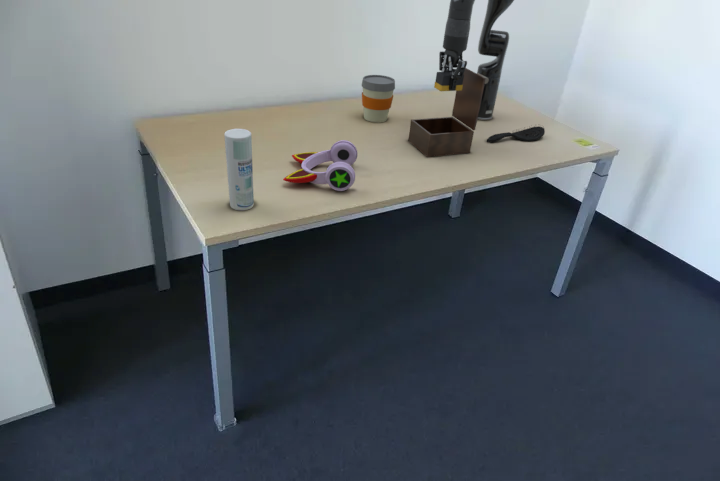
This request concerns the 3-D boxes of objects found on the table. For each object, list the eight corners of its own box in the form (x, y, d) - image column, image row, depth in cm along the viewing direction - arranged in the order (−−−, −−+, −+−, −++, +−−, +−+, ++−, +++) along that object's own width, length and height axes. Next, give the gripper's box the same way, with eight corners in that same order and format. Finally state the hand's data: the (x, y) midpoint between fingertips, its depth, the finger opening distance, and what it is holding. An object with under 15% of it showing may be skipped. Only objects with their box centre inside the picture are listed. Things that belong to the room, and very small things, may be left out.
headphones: (357, 168, 146) (285, 154, 145) (351, 199, 151) (281, 185, 150) (360, 141, 163) (295, 128, 161) (353, 170, 168) (291, 157, 166)
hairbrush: (482, 130, 193) (536, 121, 202) (480, 139, 195) (534, 130, 204) (495, 138, 187) (551, 129, 196) (494, 148, 189) (548, 138, 198)
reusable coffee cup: (374, 126, 197) (378, 86, 189) (352, 116, 205) (355, 77, 197) (398, 120, 205) (402, 81, 197) (376, 110, 212) (379, 73, 204)
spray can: (239, 213, 136) (235, 140, 126) (224, 204, 140) (218, 132, 129) (259, 205, 141) (256, 134, 130) (244, 196, 144) (240, 126, 134)
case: (427, 157, 176) (430, 135, 172) (408, 140, 187) (410, 119, 183) (469, 153, 182) (474, 131, 178) (448, 137, 193) (452, 116, 189)
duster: (440, 91, 171) (442, 75, 168) (434, 87, 174) (436, 71, 171) (461, 90, 173) (464, 75, 171) (455, 86, 177) (457, 71, 174)
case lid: (483, 78, 168) (497, 77, 170) (460, 66, 179) (473, 65, 181) (473, 130, 177) (486, 129, 179) (451, 115, 189) (464, 114, 190)
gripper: (479, 38, 160) (469, 94, 169) (455, 28, 171) (447, 81, 180) (458, 38, 158) (448, 95, 167) (435, 28, 169) (427, 82, 178)
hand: (448, 87), depth 173 cm, fingers closed on duster, 4 cm apart
